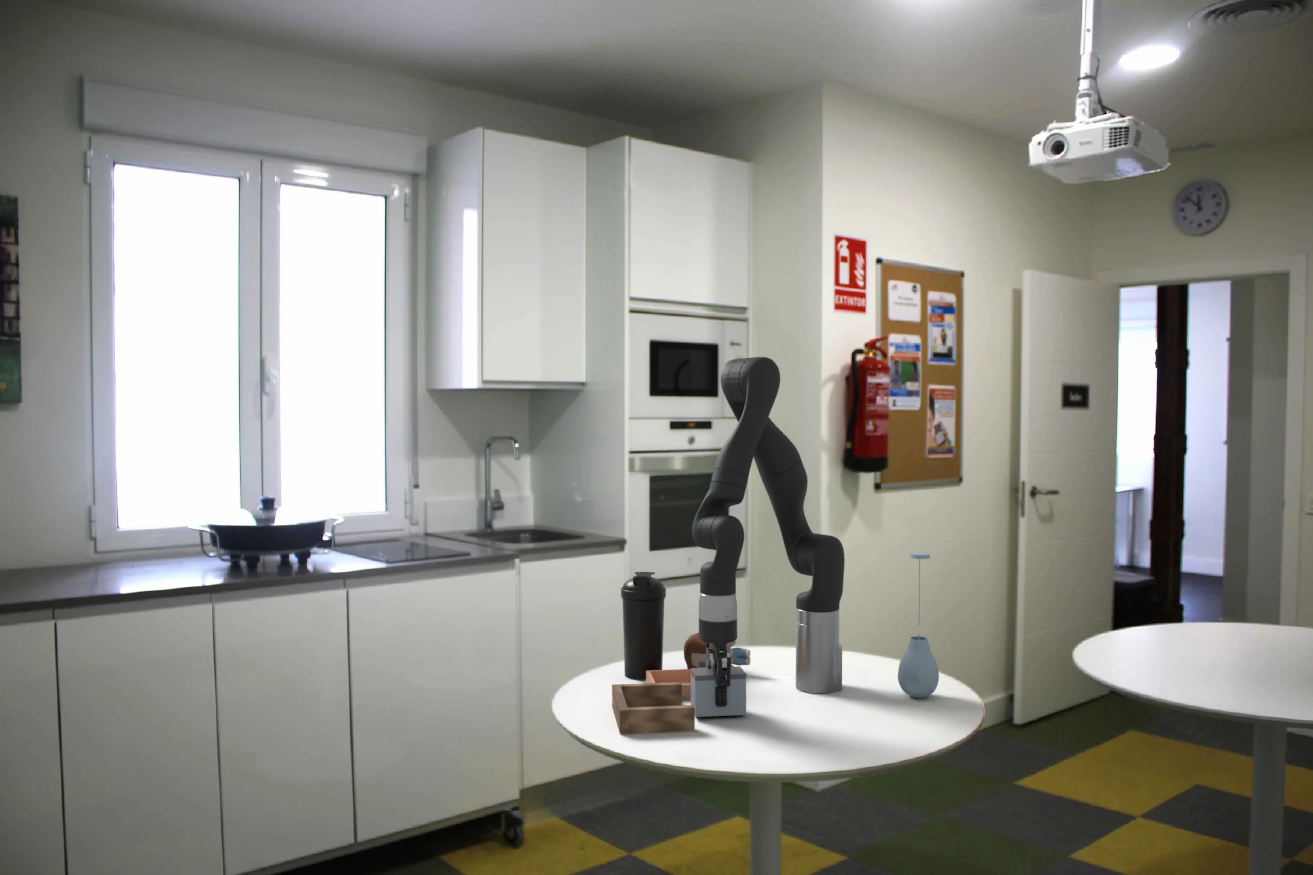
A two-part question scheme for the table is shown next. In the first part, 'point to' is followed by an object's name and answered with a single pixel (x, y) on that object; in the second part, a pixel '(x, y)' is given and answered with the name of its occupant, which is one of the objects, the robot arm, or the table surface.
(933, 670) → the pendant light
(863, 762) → the table surface
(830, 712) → the table surface
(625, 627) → the water bottle
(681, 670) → the tray
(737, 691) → the grey rectangular prism
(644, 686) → the bay
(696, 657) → the toy
